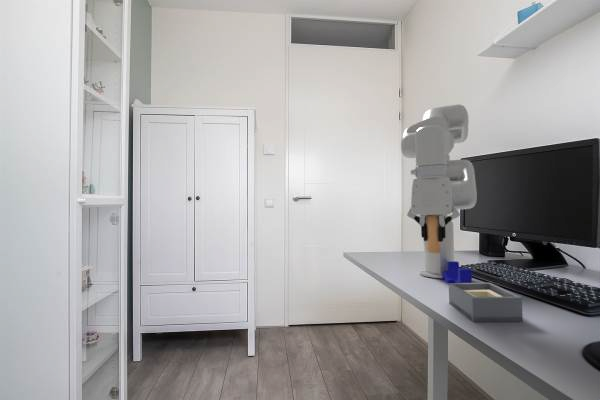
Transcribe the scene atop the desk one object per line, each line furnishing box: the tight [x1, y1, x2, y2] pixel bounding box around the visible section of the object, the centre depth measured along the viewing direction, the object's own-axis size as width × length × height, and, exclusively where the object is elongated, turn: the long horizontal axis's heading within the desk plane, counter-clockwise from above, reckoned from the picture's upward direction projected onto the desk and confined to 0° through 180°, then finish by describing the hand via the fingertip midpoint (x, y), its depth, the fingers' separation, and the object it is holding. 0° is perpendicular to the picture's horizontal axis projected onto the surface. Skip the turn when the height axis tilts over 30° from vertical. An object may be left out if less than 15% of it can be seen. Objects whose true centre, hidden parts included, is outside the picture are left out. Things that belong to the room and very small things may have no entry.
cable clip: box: [442, 260, 473, 286], centre depth 95 cm, size 12×4×6 cm, turn 171°
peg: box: [426, 215, 440, 253], centre depth 85 cm, size 3×3×10 cm
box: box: [448, 282, 524, 323], centre depth 72 cm, size 12×10×5 cm
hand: (433, 240), depth 85 cm, fingers closed on peg, 3 cm apart
